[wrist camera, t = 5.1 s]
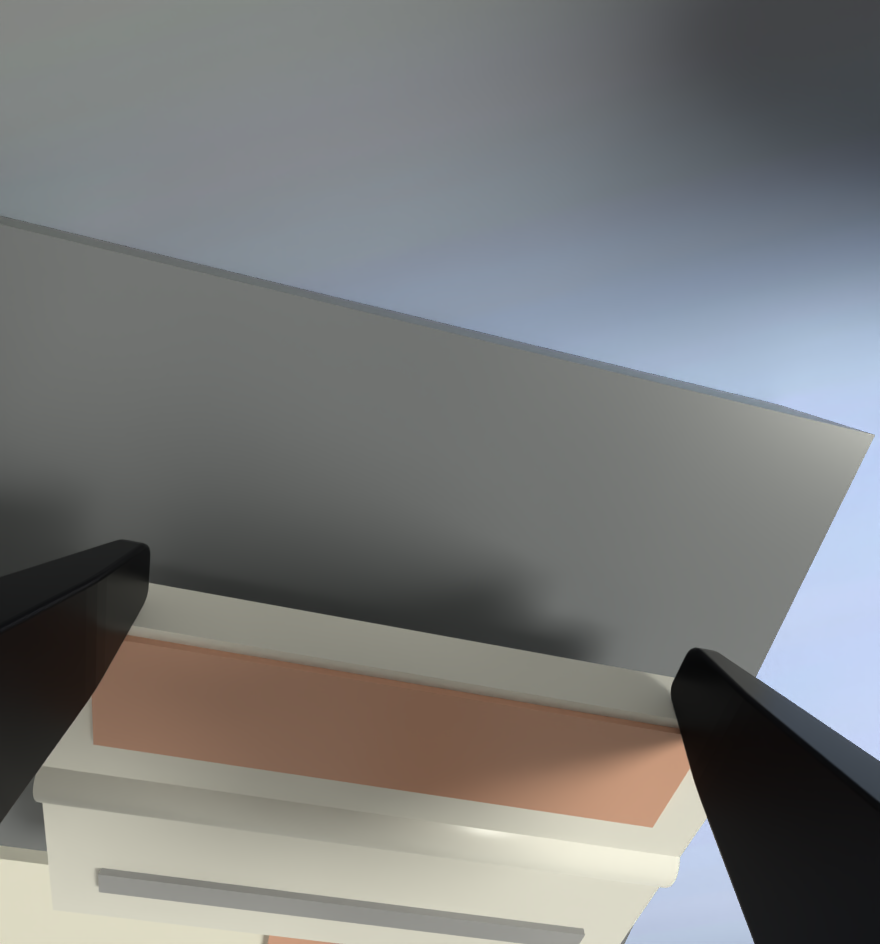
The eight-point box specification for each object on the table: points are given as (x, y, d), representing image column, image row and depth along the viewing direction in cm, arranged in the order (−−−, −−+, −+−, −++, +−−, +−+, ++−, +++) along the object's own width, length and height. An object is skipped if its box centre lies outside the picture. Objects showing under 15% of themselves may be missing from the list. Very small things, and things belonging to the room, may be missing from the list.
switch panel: (563, 905, 19) (594, 1033, 16) (-423, 777, 16) (-644, 904, 12) (779, 404, 14) (894, 441, 10) (-650, 58, 10) (-1142, -50, 7)
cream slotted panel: (586, 914, 14) (602, 984, 12) (85, 849, 12) (46, 921, 11) (729, 680, 10) (770, 744, 9) (71, 560, 9) (12, 615, 8)
